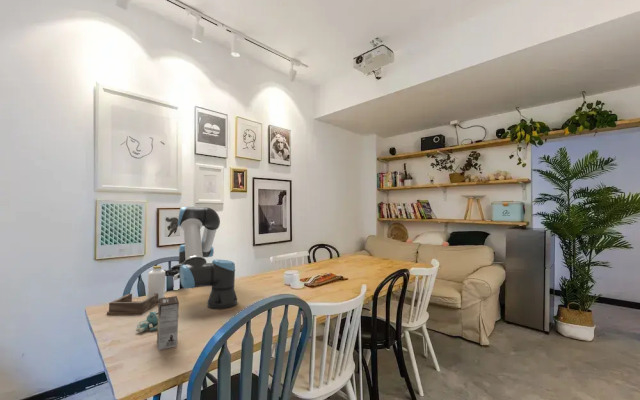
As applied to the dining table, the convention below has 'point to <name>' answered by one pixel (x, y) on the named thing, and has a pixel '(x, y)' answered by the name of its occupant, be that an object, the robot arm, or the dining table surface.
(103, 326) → the dining table surface
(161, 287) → the potion bottle
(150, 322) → the stuffed animal
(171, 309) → the coffee box
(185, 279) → the robot arm
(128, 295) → the walnut stand
